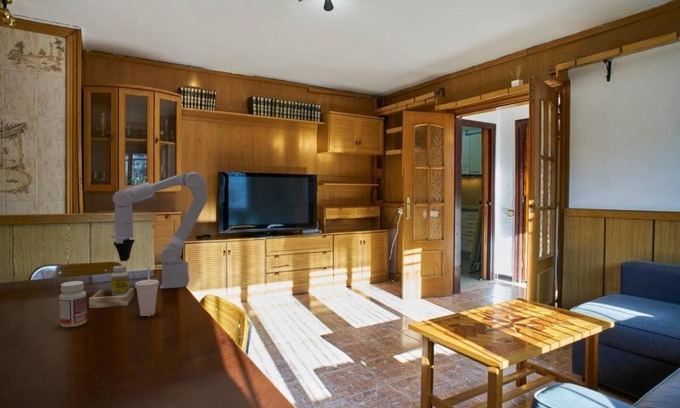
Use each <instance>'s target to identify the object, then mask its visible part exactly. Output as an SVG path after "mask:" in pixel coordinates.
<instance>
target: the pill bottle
mask: <svg viewBox="0 0 680 408" xmlns="http://www.w3.org/2000/svg"><path fill="white" fill-rule="evenodd" d="M84 283H85V282H84V281H81V280H74V281H71V280H70V281H66V282H63V283H61V284H60V292H62V293H61V294H60V295H59V296H58V298H59V299H58V300H59V325H60V326H61V327H62V328H74V327H78V326H79V327H80V326H82V325H83V324H85V323H87V322H88V310H87V308H88V307H87V305H88V304H87V292H86V290H83V289H84V288H85V284H84Z"/></svg>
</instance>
